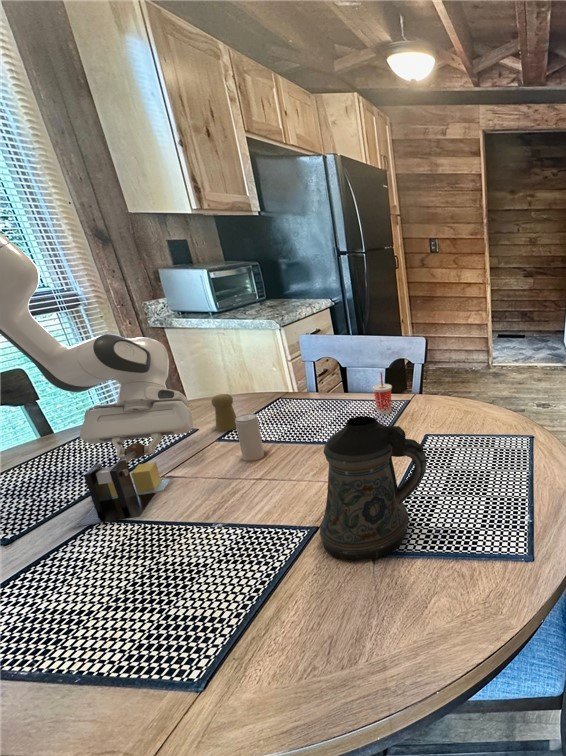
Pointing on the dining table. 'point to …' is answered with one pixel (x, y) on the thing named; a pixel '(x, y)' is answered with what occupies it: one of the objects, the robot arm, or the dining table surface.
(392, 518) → the beer stein
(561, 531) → the dining table surface
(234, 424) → the cork
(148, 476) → the butter right
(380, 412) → the beverage cup
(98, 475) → the lever
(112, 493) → the butter left
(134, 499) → the cutter
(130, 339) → the robot arm
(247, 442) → the beverage can
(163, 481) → the butter dish
